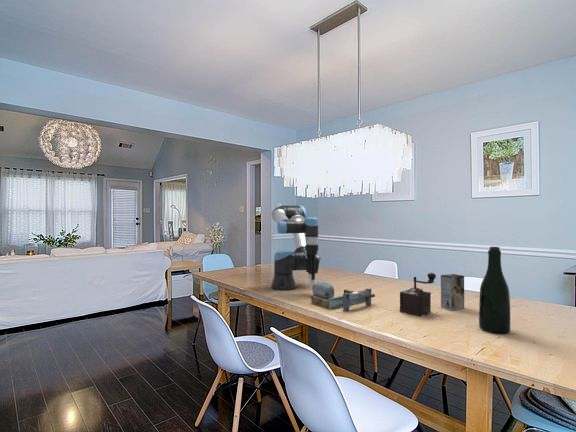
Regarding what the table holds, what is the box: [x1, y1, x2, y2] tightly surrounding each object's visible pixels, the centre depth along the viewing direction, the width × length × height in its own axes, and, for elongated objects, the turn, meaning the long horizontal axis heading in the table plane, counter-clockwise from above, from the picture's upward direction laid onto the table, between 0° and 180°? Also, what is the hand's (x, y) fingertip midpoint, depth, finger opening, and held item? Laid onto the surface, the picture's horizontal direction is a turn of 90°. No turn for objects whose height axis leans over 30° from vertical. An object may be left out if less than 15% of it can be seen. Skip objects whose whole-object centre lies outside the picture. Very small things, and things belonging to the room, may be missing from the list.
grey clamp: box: [342, 288, 376, 312], centre depth 159 cm, size 4×21×8 cm, turn 126°
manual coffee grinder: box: [399, 272, 437, 317], centre depth 153 cm, size 16×11×18 cm
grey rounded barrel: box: [311, 281, 335, 300], centre depth 178 cm, size 14×10×10 cm
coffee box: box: [440, 273, 465, 311], centre depth 158 cm, size 9×6×16 cm
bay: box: [310, 288, 365, 310], centre depth 169 cm, size 14×26×5 cm, turn 126°
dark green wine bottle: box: [478, 246, 511, 335], centre depth 127 cm, size 10×10×33 cm
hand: (311, 285), depth 186 cm, fingers closed
